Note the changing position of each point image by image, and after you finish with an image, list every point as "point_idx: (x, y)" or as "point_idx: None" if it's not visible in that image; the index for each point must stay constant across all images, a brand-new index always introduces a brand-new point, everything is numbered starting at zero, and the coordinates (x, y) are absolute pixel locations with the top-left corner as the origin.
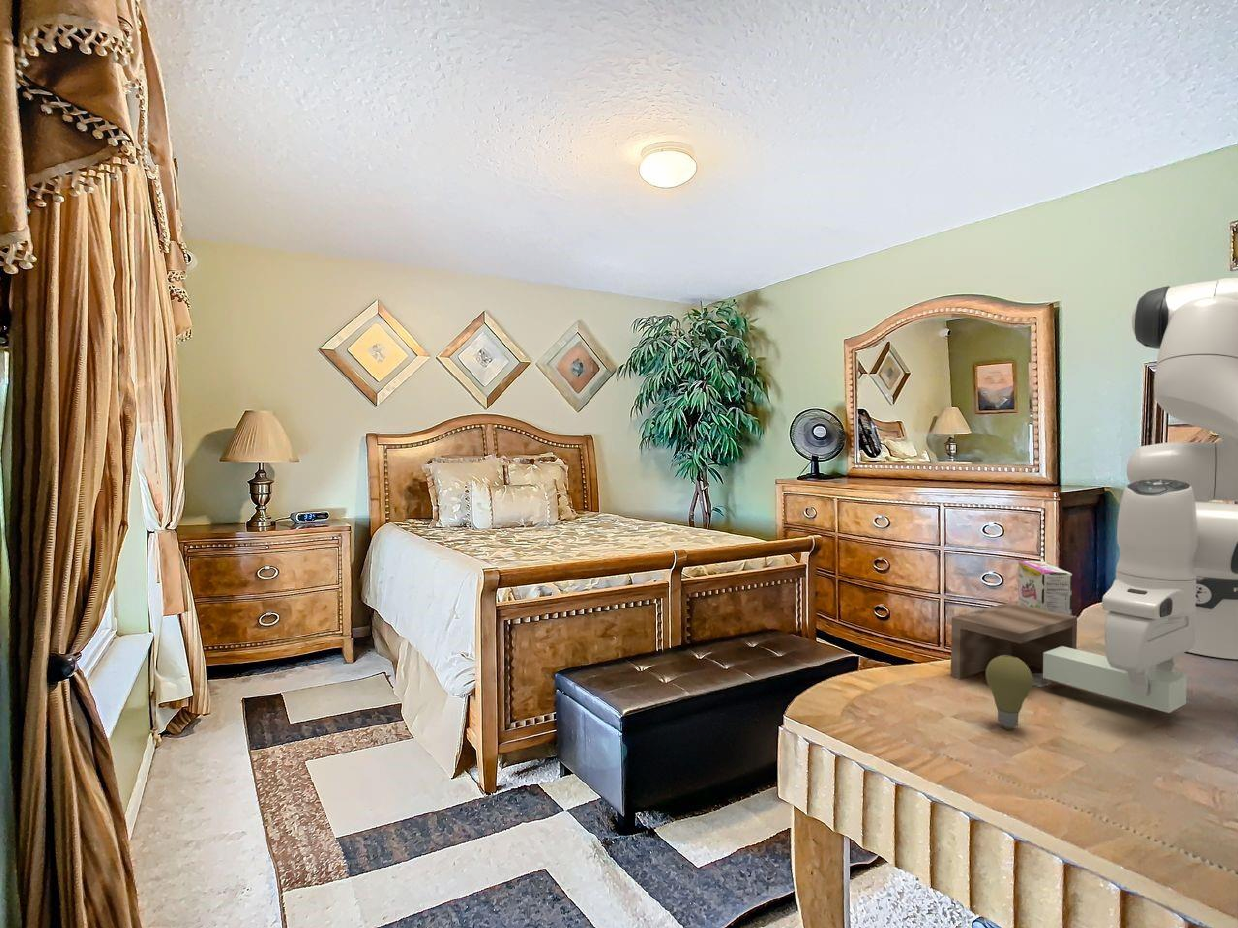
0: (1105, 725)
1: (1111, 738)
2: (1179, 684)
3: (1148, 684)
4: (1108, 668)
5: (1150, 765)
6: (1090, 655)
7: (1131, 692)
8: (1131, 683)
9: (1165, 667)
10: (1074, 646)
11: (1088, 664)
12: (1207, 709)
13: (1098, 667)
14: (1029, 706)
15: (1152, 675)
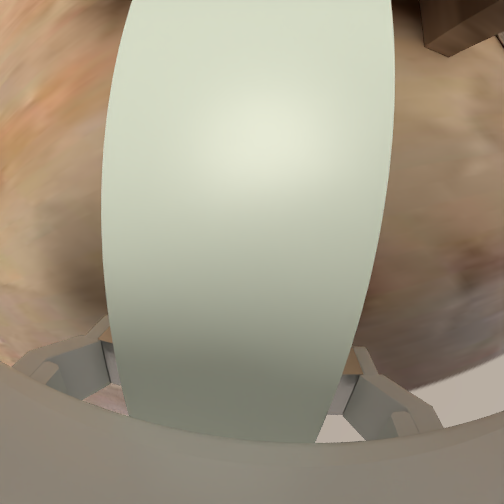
0: (72, 238)
1: (31, 268)
2: None
3: (117, 383)
4: (109, 237)
5: (11, 331)
6: (330, 62)
7: (107, 315)
8: (87, 334)
9: (365, 414)
10: (498, 20)
11: (108, 127)
12: (409, 366)
13: (105, 184)
14: (55, 73)
15: (190, 404)
